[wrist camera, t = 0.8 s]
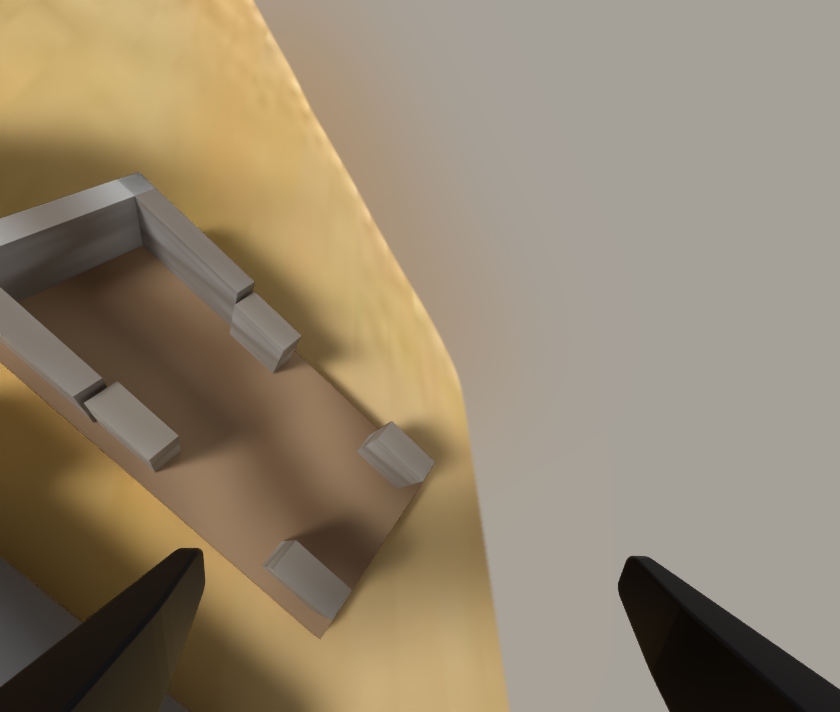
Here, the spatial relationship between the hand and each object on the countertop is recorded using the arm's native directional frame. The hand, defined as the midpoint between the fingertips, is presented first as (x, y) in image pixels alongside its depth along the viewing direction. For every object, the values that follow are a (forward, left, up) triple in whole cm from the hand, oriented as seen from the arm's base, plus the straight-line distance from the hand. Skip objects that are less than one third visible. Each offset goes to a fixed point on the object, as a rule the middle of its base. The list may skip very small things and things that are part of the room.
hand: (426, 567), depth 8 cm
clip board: (+3, +8, -13) cm, 15 cm away
